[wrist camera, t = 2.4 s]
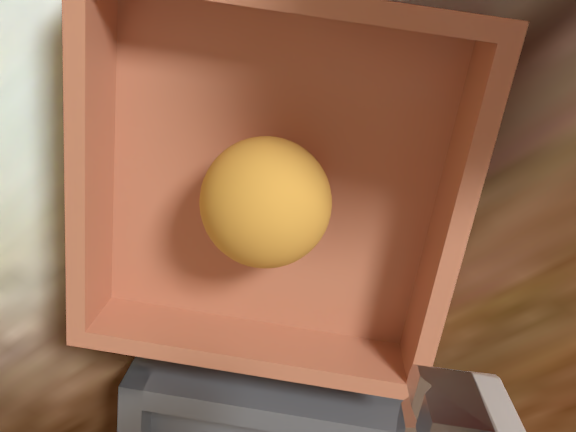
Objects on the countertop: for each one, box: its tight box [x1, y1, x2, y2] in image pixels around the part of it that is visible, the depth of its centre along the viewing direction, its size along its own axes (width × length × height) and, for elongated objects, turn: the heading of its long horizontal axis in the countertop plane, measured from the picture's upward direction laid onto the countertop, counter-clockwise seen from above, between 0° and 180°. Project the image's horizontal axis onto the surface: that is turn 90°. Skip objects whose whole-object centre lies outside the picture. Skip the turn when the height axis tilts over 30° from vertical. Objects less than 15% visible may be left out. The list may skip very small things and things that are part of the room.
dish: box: [62, 0, 529, 400], centre depth 19 cm, size 13×13×3 cm
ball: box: [199, 136, 332, 268], centre depth 18 cm, size 4×4×4 cm
